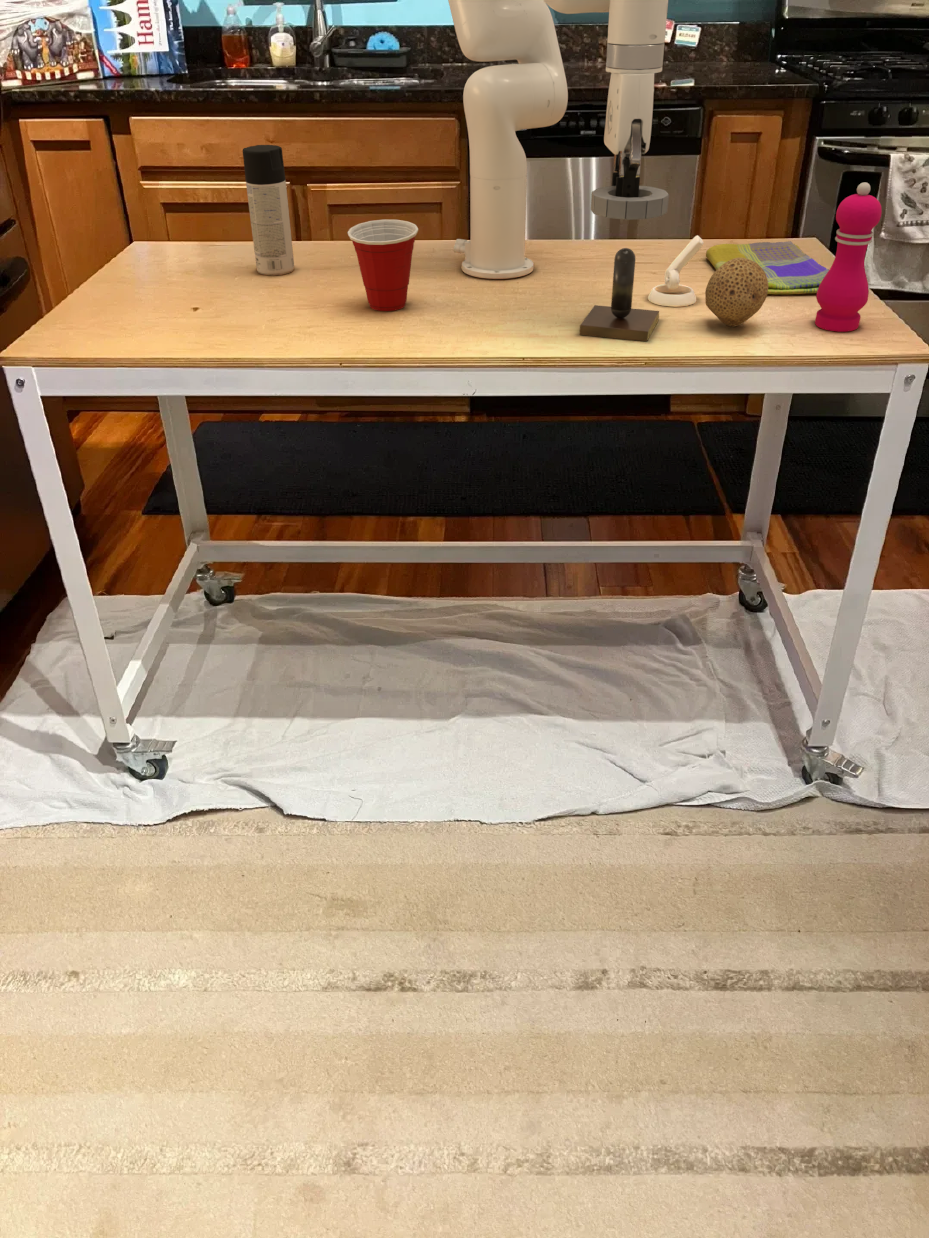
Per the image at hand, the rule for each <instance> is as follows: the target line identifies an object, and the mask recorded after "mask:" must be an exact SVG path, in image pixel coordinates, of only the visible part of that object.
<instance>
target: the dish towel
mask: <svg viewBox="0 0 929 1238" xmlns="http://www.w3.org/2000/svg"><path fill="white" fill-rule="evenodd" d="M705 257H706V259H707V260H708V261H709V263H710V264H711V265H712V266H713V267H714V269H715V271H716V270H717V269H718V268H719V267H720V266H722V265H723V264H724V263H726V262H727V261H729V260H732V259H734V258H746V259H749V260H752V261H754V262H756V263H757V264H758V265H759V266H760V267H761V268H762V269H763V270H764V272H765V273H766V276H767V280H768V293H767V295H801V294H802V295H804V294H817V291H818V288H819V286H820V284H821V282H822V280H823V278H824V277H825V275H826V274H827V273H828V271H829V270H830V268H829V269H828V268H827V267H825V266H823V265H822V264H819V263H818V262H817V261H816V260H815V259H814V258H812V257H810V256H809V255H808V254H807V253H804V251H803V250H802V249H801V248H800V246H798V244H796V243H793V241H791V240H788V241H777V242H769V241H762V242H761V241H760V242H753V243H742V244H741V243H720V244H716V245H713V246H711V247H709V248H708V249H707V250H706V251H705Z"/></svg>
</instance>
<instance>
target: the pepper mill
mask: <svg viewBox="0 0 929 1238" xmlns="http://www.w3.org/2000/svg"><path fill="white" fill-rule="evenodd" d="M870 192H871V185H870V183H868V182H861V183H860V184H858V185H857V188H856V193H854V194H851V195H849V196H847V197H844V199H843V200H842V201H841V202H840V203H839V205H838V207H837V210H836V214H835V220H836V221H835V222H836V223H837V224H838V226H839V228H838V229H837V230H836V236H835V237H834V240H835V242H837V246H836V252H835V257H834V260H833V262H832V264H831V267H829V271H828V273H827V274H826V275H825V277H824V278H823V280H822V282H821V284H820V286H819V288H818V291H817V293H816V297H815V298H816V301H817V303H818V306H819V307H820V309H818V310H817V311H816V314H815V321H814V325H815V326H816V327H818V328H820V329H821V330H826V331H830V332H838V333H839V332H840V333H847V332H852V331H856V330H857V329H858V328H859V327H860V321H861V318H862V317H861V314H860V313H859V311H860V310H861V309H863V308H864V307H865V306H866V305H867V303H868V301H869V294H870V292H869V291H870V290H869V281H868V277H867V273H866V266H865V260H866V253H867V249H868V246H869V245H870V244H872V243H873V236H874V231H872V230H873V229H874V228H875V227H876V226H877V225H878V224H879V223H880V221H881V218H882V213H883V211H882V210H883V209H882V204H881V202H880V200H879V199H877V198H876V197H875V196H873V195H870V194H869V193H870Z"/></svg>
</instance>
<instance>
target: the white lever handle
mask: <svg viewBox="0 0 929 1238" xmlns="http://www.w3.org/2000/svg"><path fill="white" fill-rule="evenodd" d="M704 244H705V243H704V240H703V238H702V237H700V235H698V234H697V235H695V236H694V237H693V238H692V239H691V240H690V241H689V242H688V243H687V245H686V246H685V247H684V248H683V249H682V250H681V251H680V252H679V254H678V255H677V256H676V257H675V259H673V260H672V262H671V263H670V264H669V265H668V266H667V268H666V269H665V271H664V276H663V277H664V278H663V280H664V283H662V284H657V285H655V286H653V287H652V289H651V290H650V292H649V294H648V296H647V300H648V301H649V303H652V304H655V305H657V306H663V307H672V308H673V307H675V308H678V307H688V306H691V305H694V304H696V302H697V296H696V293H695V290H694V289H693V288H692V287H691V286H688V285H685V284H680V282H681V279H680V274H681V272H682V270H683V269H684V267H685V266H687V265H688V263H690V261H691V260H692V259H693V258H694V257H695V255H696V254H697V253H698V252H699V251H700V250H701V248H702V247H704Z"/></svg>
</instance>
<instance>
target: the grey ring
mask: <svg viewBox="0 0 929 1238" xmlns="http://www.w3.org/2000/svg"><path fill="white" fill-rule="evenodd" d="M615 193H616V186H612V185H610V186H603V187H598V188H595V189H594V190H592V191H591V194H590V195H591V198H590V211H591V212H592V214H593V215H595V216H599V217H603V218H607V219H615V220H624V221H625V220H628V221H631V220H632V221H633V220H649V219H655V218H660V217H662V216H664V215H666V214H668V209H669V199H670V194H669V193H668V192H667V190H665V189H663V188H658V187H654V186H646V185H639V195H638V197H635V198H626V197H616V196H615Z"/></svg>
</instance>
